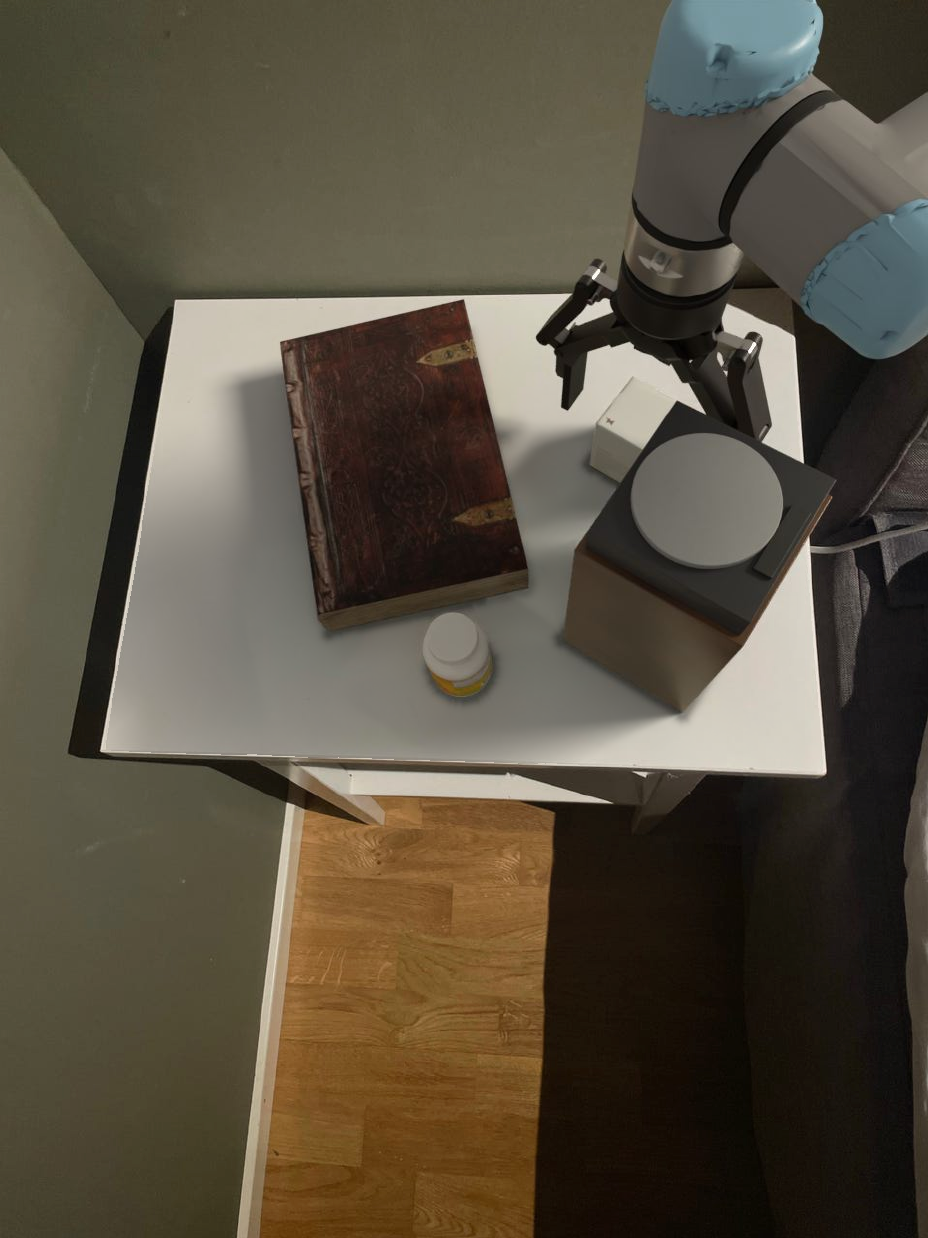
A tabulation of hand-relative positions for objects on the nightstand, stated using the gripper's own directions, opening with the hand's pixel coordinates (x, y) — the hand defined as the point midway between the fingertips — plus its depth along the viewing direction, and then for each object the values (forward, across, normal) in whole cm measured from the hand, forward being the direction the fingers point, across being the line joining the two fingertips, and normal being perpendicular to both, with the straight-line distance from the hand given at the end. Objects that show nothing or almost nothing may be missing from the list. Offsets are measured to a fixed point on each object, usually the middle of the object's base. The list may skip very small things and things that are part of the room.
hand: (636, 432), depth 70 cm
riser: (+4, +10, -13) cm, 17 cm away
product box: (+4, 0, 0) cm, 4 cm away
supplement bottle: (+4, -2, -26) cm, 27 cm away
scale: (-16, +10, -13) cm, 23 cm away
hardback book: (+5, -18, -13) cm, 22 cm away
